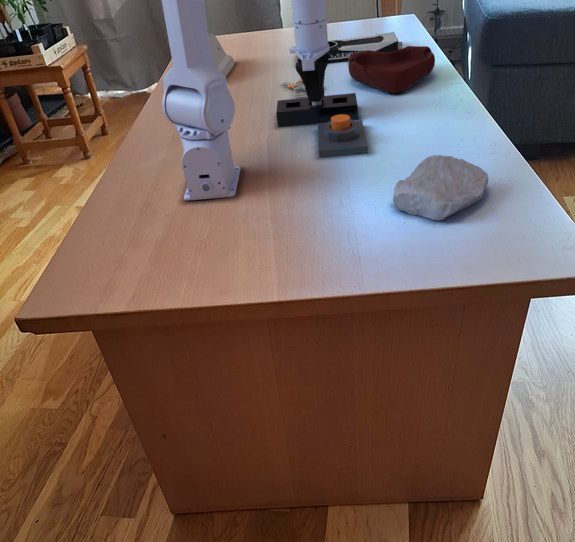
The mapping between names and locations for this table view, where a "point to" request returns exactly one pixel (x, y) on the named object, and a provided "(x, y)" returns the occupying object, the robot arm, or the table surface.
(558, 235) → the table surface
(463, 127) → the table surface
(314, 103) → the grey and white cylinder
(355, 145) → the station
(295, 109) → the holder
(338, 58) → the graphics card
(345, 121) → the power button
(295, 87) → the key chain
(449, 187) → the stone block
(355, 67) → the ashtray
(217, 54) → the hinge
